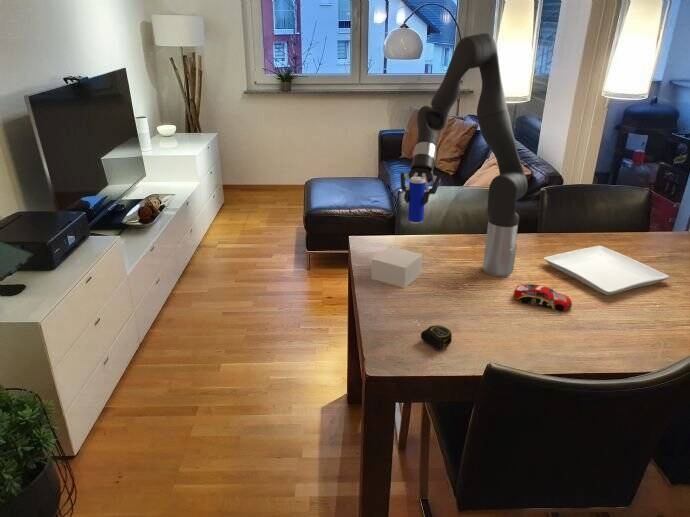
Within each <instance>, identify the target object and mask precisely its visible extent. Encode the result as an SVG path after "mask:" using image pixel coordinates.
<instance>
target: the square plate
mask: <svg viewBox="0 0 690 517" xmlns="http://www.w3.org/2000/svg"><path fill="white" fill-rule="evenodd" d="M543 259H544V260H545V262H547V264H548V265H550V266H551V267H552V268H554V269H557V270H558V271H561V272H562V273H564V274H566V275H567V276H569V277H571V278H573V279H575V280H577V281H579V282H580V283H583V284H584V285H585V286H588V287H590V288H591V289H593V290H595V291H598V292H599V293H601V294H604V295H605V296H609V295H615V294H618V293H621V292H625V291H628V290H633V289H637V288H641V287H642V288H643V287H646V286H651V285H655V284H658V283H662V282H664V281H666V280H668V279H670V276H669V275H668V274H665V273H664V272H661V271H659V270H657V269H655V268H653V267H650V266H649V265H647V264H644V263H642V262H640V261H637V260H635V259H633V258H632V257H629V256H627V255H624V254H623V253H619V252H617V251H616V250H612V249H611V248H607V247H605V246H602V245H595V246H590V247H585V248H581V249H575V250H569V251H567V252H562V253H558V254H554V255H550V256H545V257H543Z"/></svg>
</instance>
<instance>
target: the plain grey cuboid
mask: <svg viewBox="0 0 690 517" xmlns="http://www.w3.org/2000/svg"><path fill="white" fill-rule="evenodd" d="M423 258H424V257H423V254H422V253H417V252H413V251H410V250H405V249H401V248H398V247H392V246H389V247H387V248H386V249H385V250H382V251H381V252H380V253H378V254H377V255H376V256H374V257H373V258H371V273H370V274H371V275H370V276H371V277H370V278H371V279H372V280H375V281H379V282H382V283H385V284H388V285H392V286H395V287H399V288H403V289H405V288H406V287H408V286H409V285H410V284H412V282H414V281H415V280H416V279H418V278H419V277H420V275H422V270H423V269H422V268H423Z"/></svg>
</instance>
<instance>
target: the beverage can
mask: <svg viewBox="0 0 690 517" xmlns="http://www.w3.org/2000/svg"><path fill="white" fill-rule="evenodd" d="M409 182H410V186H409V203H408V212H407V213H408V214H407V215H408V217H407V220H408V221H409V223H412V224H421V223H423V222H424V218H425V217H424V216H425V205H423V198H424V193H425V192H426V191H425V178H423V177H411V179H410V178H409Z"/></svg>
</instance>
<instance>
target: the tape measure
mask: <svg viewBox="0 0 690 517" xmlns="http://www.w3.org/2000/svg"><path fill="white" fill-rule="evenodd" d="M452 335H453V333H452V331H451V330H450V329H449V328H448V327H446V326H444V325H440V324H439V325H438V324H435V325H430V326H429V327H427V329H424V330H423V331H422V332H421V333H420V339H421V340H422V341H423V342H425V343H426V344H429V345H430V346H431V347H434V349H435V350H438V351H441V350H442V349H443V348H446V347H448V346H449V345H450V344H451V343H452V337H453V336H452Z"/></svg>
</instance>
